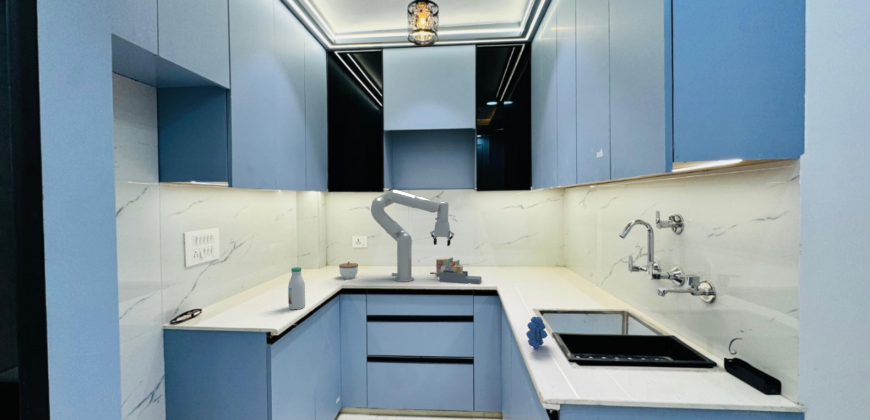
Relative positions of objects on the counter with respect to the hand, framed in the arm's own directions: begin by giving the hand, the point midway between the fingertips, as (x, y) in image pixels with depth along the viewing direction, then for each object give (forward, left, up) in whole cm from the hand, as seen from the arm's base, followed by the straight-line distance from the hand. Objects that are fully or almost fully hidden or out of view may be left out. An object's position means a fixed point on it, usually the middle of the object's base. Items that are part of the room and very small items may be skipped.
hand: (441, 245), depth 239 cm
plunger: (-2, -6, -19) cm, 20 cm away
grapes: (+61, -100, -23) cm, 120 cm away
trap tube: (+14, -6, -22) cm, 27 cm away
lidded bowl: (-62, -15, -23) cm, 68 cm away
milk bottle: (-54, -81, -23) cm, 100 cm away
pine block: (+13, -6, -19) cm, 24 cm away
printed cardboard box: (+1, +13, -23) cm, 26 cm away
